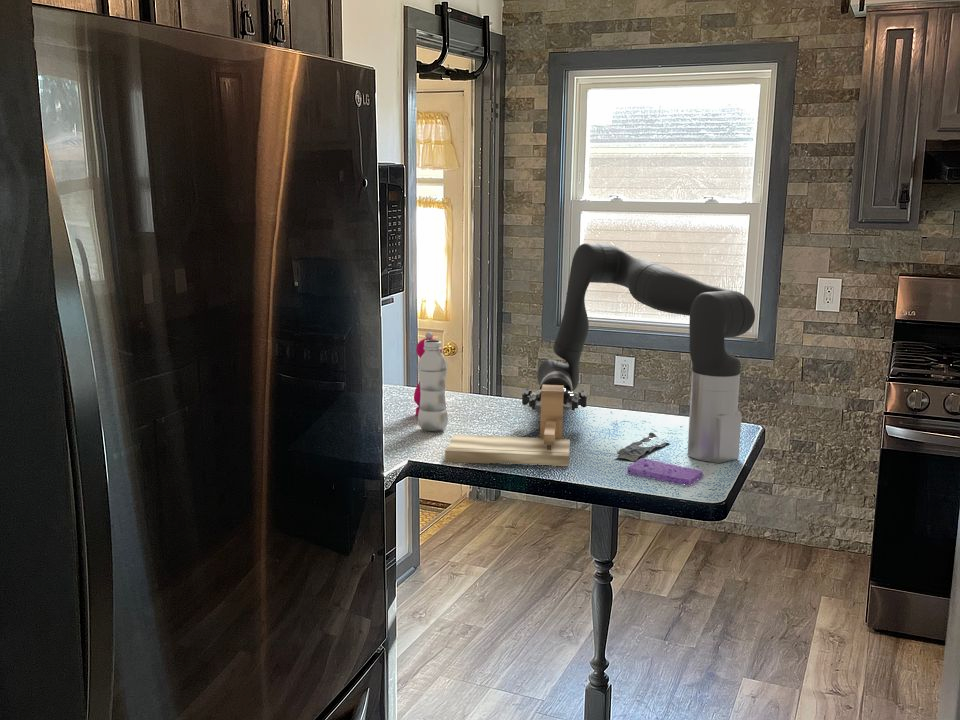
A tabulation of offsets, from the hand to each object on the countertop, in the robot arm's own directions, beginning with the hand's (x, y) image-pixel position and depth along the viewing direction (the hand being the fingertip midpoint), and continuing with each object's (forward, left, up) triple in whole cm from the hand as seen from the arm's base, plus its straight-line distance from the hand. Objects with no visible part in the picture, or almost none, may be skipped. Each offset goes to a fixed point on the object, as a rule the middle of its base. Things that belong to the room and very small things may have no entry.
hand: (553, 405), depth 188 cm
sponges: (-32, -2, -8) cm, 33 cm away
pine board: (-7, +16, -7) cm, 19 cm away
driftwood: (-17, -10, -8) cm, 22 cm away
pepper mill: (+30, +14, -7) cm, 34 cm away
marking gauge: (-9, +8, -7) cm, 13 cm away
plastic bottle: (+18, +20, -7) cm, 27 cm away
